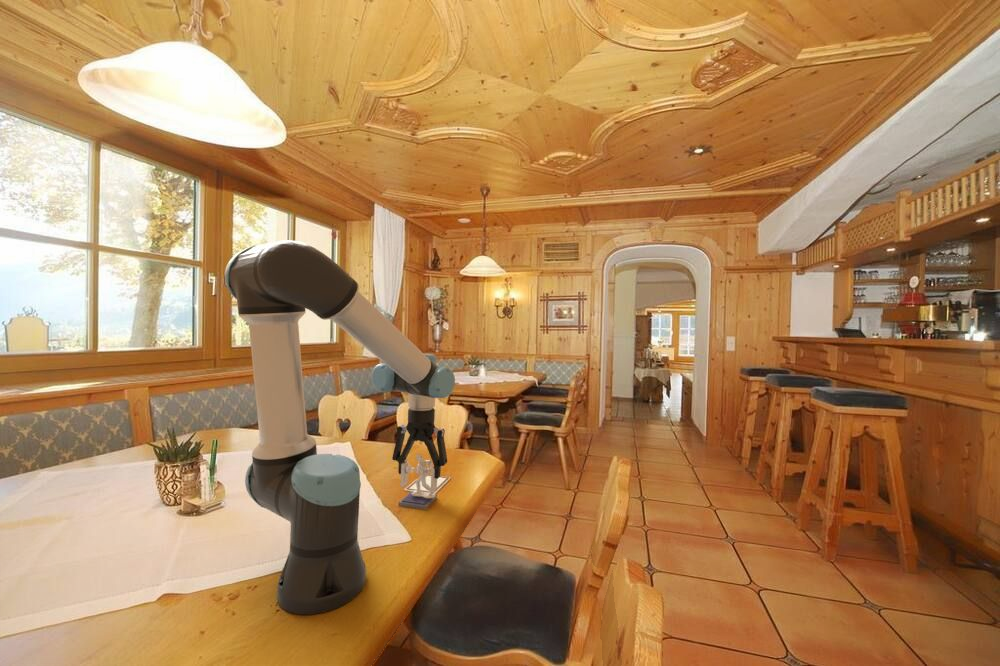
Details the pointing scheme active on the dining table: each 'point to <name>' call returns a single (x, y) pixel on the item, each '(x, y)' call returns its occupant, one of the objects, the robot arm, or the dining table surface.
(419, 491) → the figurine
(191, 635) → the dining table surface
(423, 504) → the ink pad
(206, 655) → the dining table surface
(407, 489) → the print sheet
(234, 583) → the dining table surface
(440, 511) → the dining table surface
